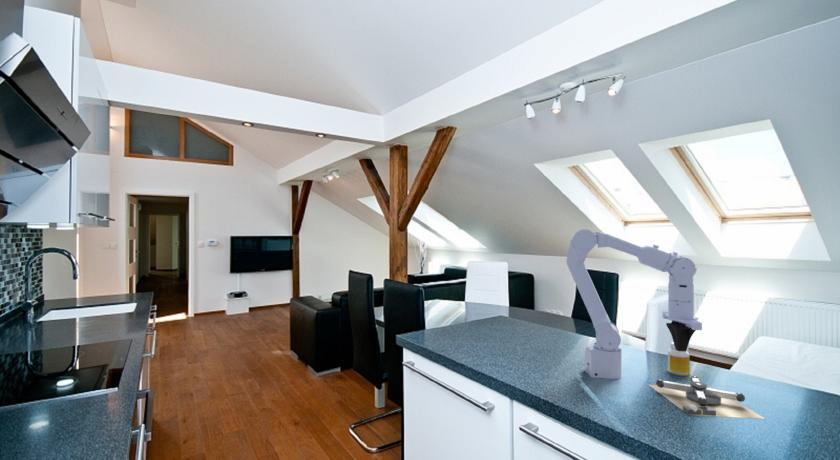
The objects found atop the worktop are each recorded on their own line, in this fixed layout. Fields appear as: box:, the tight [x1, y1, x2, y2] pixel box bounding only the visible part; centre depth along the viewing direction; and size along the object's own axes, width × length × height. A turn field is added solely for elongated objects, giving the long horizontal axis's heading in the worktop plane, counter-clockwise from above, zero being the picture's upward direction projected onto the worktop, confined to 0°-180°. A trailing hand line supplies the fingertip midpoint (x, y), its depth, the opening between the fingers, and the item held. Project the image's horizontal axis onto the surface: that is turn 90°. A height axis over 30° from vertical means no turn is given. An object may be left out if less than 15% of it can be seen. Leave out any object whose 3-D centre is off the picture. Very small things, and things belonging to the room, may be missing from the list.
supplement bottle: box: [667, 341, 691, 377], centre depth 114 cm, size 5×5×10 cm
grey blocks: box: [682, 405, 716, 415], centre depth 88 cm, size 6×2×2 cm, turn 85°
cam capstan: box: [655, 375, 746, 407], centre depth 96 cm, size 18×18×4 cm
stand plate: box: [648, 384, 766, 420], centre depth 95 cm, size 16×18×1 cm
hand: (680, 350), depth 105 cm, fingers closed
